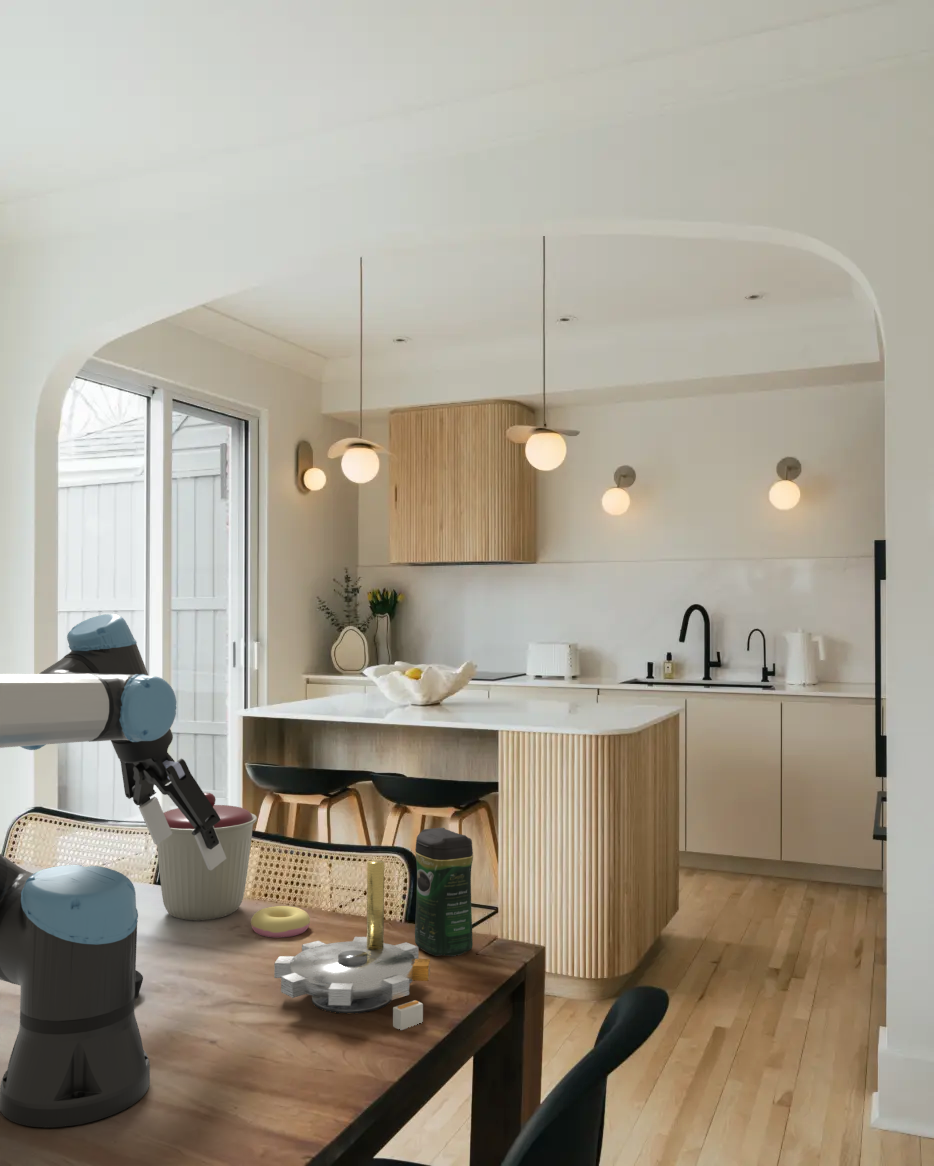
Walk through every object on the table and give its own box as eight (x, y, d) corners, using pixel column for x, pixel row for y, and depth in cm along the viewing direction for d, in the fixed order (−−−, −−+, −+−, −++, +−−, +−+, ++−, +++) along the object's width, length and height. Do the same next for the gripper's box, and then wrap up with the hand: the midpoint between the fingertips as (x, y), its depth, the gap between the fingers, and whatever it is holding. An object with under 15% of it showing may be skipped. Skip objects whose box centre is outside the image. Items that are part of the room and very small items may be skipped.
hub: (369, 1019, 128) (369, 997, 128) (296, 1006, 132) (296, 985, 132) (406, 990, 138) (406, 970, 138) (337, 979, 142) (337, 960, 142)
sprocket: (385, 1014, 121) (386, 899, 122) (244, 990, 129) (246, 882, 130) (452, 962, 140) (452, 863, 141) (326, 943, 148) (327, 850, 149)
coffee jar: (480, 953, 154) (481, 833, 154) (436, 961, 150) (436, 838, 150) (450, 936, 162) (451, 822, 163) (407, 943, 158) (408, 827, 159)
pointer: (400, 1030, 124) (401, 1009, 124) (393, 1026, 125) (393, 1005, 125) (422, 1022, 126) (422, 1002, 127) (414, 1019, 128) (415, 998, 128)
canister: (276, 908, 177) (278, 790, 178) (198, 934, 162) (201, 805, 163) (207, 893, 187) (209, 781, 188) (127, 916, 172) (130, 794, 173)
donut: (275, 956, 159) (321, 935, 165) (274, 930, 158) (321, 909, 165) (240, 933, 166) (285, 913, 172) (239, 907, 165) (285, 889, 171)
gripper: (212, 726, 126) (263, 858, 134) (112, 695, 143) (163, 814, 151) (164, 758, 121) (219, 893, 129) (66, 722, 138) (121, 844, 146)
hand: (189, 851), depth 140 cm, fingers open, 13 cm apart
